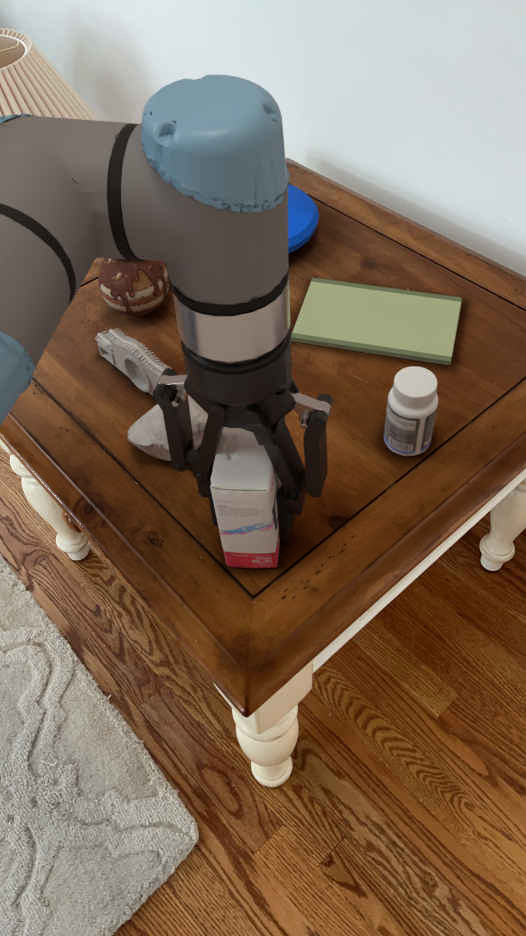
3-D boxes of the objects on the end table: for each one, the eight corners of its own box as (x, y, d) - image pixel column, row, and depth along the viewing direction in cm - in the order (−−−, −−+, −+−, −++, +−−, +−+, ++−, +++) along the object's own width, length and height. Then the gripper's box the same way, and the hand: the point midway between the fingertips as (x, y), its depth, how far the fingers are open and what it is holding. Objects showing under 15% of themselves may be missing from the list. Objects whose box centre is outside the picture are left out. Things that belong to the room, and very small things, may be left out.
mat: (290, 341, 85) (290, 337, 84) (312, 281, 91) (312, 277, 91) (450, 365, 81) (451, 361, 81) (461, 301, 88) (462, 297, 87)
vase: (174, 237, 98) (166, 188, 93) (262, 188, 104) (259, 140, 99) (253, 291, 91) (250, 241, 85) (343, 235, 97) (346, 185, 91)
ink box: (277, 571, 67) (273, 494, 57) (221, 567, 67) (208, 490, 58) (285, 492, 72) (283, 410, 63) (233, 489, 72) (223, 407, 63)
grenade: (140, 272, 94) (116, 160, 82) (193, 292, 91) (176, 179, 79) (92, 316, 89) (59, 204, 77) (146, 338, 86) (120, 225, 75)
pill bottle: (416, 416, 77) (426, 357, 71) (439, 448, 74) (451, 390, 68) (374, 430, 76) (381, 371, 70) (396, 463, 73) (405, 405, 67)
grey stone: (181, 482, 73) (174, 450, 69) (117, 450, 76) (107, 418, 72) (230, 425, 78) (226, 391, 74) (167, 397, 80) (160, 363, 77)
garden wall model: (98, 357, 85) (86, 316, 80) (111, 349, 86) (100, 308, 81) (166, 410, 79) (157, 370, 75) (179, 401, 80) (171, 361, 75)
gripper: (381, 312, 51) (361, 507, 69) (128, 276, 54) (173, 471, 73) (360, 390, 46) (345, 577, 64) (86, 345, 50) (145, 534, 68)
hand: (254, 520), depth 68 cm, fingers closed on ink box, 5 cm apart
